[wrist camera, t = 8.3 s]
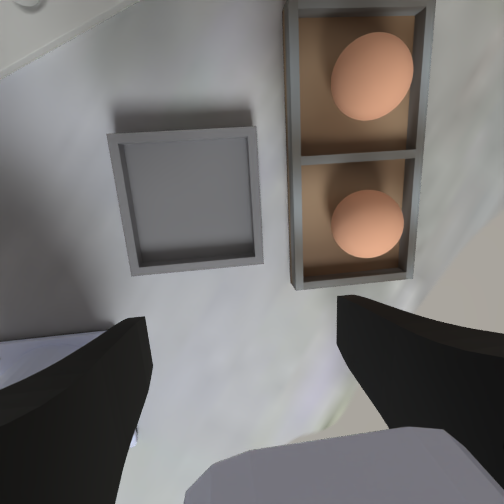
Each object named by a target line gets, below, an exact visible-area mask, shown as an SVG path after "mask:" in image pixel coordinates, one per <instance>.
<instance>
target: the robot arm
mask: <svg viewBox="0 0 504 504" xmlns="http://www.w3.org/2000/svg"><path fill="white" fill-rule="evenodd" d="M337 346H338V348H339V350H340V352H341V354H342V356H343V358H344V360H345V362H346V364H347V366H348V368H349V369H350V371H351V372H352V374H353V375H354V377H355V378H356V380H357V381H358V383H359V384H360V385H361V387H362V388H363V390H364V391H365V393H366V394H367V396H368V397H369V399H370V400H371V401H372V403H373V404H374V406H375V407H376V409H377V410H378V412H379V413H380V415H381V416H382V418H383V419H384V421H385V423H386V424H387V425H388V427H389V429H387V430H380V431H374V432H368V433H360V434H354V435H347V436H341V437H335V438H327V439H321V440H315V441H307V442H301V443H294V444H288V445H281V446H274V447H268V448H261V449H254V450H249V451H246V452H243V453H241V454H238V455H235V456H233V457H230V458H227V459H224V460H222V461H219V462H216V463H214V464H213V465H211V466H210V467H209V468H208V469H207V470H206V471H205V472H204V473H203V474H202V475H201V476H200V477H199V478H198V480H197V481H196V482H195V483H194V484H193V485H192V486H191V487H190V488H189V489H188V490H187V491H186V493H185V499H184V504H504V334H502V333H496V332H489V331H483V330H477V329H471V328H466V327H461V326H457V325H453V324H448V323H444V322H440V321H436V320H432V319H429V318H425V317H422V316H419V315H415V314H412V313H409V312H406V311H403V310H400V309H397V308H394V307H391V306H388V305H385V304H382V303H380V302H377V301H374V300H371V299H368V298H365V297H361V296H357V295H345V296H337ZM0 358H1V359H0V504H115V501H116V497H117V493H118V488H119V484H120V480H121V475H122V471H123V467H124V463H125V460H126V457H127V453H128V450H129V448H131V447H134V446H135V445H136V443H137V440H138V437H137V432H136V427H137V424H138V421H139V418H140V415H141V412H142V409H143V406H144V403H145V400H146V397H147V394H148V390H149V385H150V380H151V375H152V369H153V362H152V356H151V350H150V344H149V338H148V332H147V326H146V320H145V316H144V317H134V318H127V319H125V320H123V321H121V322H119V323H118V324H116V325H115V326H113V327H112V328H110V329H109V330H106V331H97V332H88V333H78V334H69V335H60V336H51V337H41V338H32V339H23V340H14V341H5V342H0Z"/></svg>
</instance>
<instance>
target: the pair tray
mask: <svg viewBox="0 0 504 504" xmlns="http://www.w3.org/2000/svg"><path fill="white" fill-rule="evenodd" d="M435 6H436V0H287V2H286V4H285V7H284V9H283V12H282V19H283V51H284V84H285V116H286V149H287V181H288V214H289V246H290V279H291V284H292V285H293V287H294V288H295V290H296V291H297V290H306V289H316V288H326V287H336V286H345V285H355V284H365V283H375V282H384V281H394V280H404V279H413V273H414V261H415V249H416V237H417V224H418V212H419V200H420V188H421V176H422V164H423V152H424V139H425V127H426V115H427V103H428V91H429V79H430V66H431V54H432V42H433V30H434V18H435ZM374 32H385V33H390V34H392V35H395V36H397V37H398V38H400V39H401V40H402V41H403V42H404V43H405V44H406V46H407V47H408V49H409V51H410V53H411V56H412V60H413V78H412V82H411V85H410V88H409V90H408V92H407V94H406V95H405V97H404V99H403V100H402V101H401V102H400V104H399V105H398V106H397V107H396V108H395V109H393V110H392V111H391V112H390V113H388V114H386V115H385V116H382V117H380V118H378V119H374V120H368V121H361V120H355V119H352V118H350V117H348V116H346V115H345V114H344V113H342V112H341V111H340V110H339V108H338V107H337V105H336V104H335V102H334V100H333V97H332V93H331V76H332V71H333V68H334V66H335V63H336V61H337V59H338V57H339V56H340V54H341V53H342V52H343V50H344V49H345V48H346V47H347V46H348V45H349V44H350V43H352V42H353V41H354V40H356V39H357V38H359V37H361V36H363V35H366V34H369V33H374ZM361 190H377V191H380V192H383V193H385V194H387V195H389V196H390V197H392V198H393V199H394V200H395V201H396V202H397V204H398V205H399V207H400V209H401V211H402V213H403V218H404V228H403V232H402V235H401V237H400V239H399V241H398V242H397V244H396V245H395V246H394V247H393V248H392V249H391V250H389V251H388V252H386V253H385V254H383V255H380V256H377V257H373V258H360V257H355V256H353V255H350V254H348V253H347V252H345V251H344V250H343V249H341V248H340V247H339V245H338V244H337V243H336V241H335V239H334V237H333V234H332V230H331V220H332V216H333V213H334V210H335V209H336V207H337V205H338V204H339V203H340V202H341V201H342V200H343V199H344V198H345V197H347V196H348V195H350V194H352V193H354V192H357V191H361Z"/></svg>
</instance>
